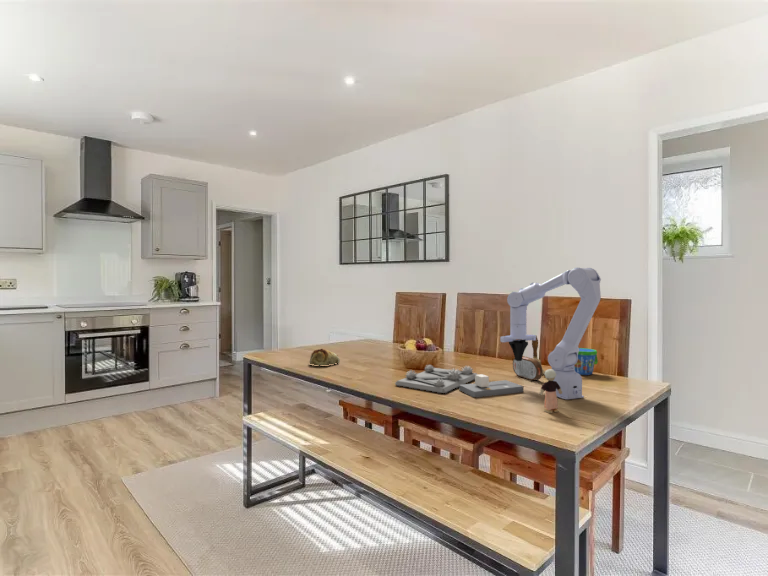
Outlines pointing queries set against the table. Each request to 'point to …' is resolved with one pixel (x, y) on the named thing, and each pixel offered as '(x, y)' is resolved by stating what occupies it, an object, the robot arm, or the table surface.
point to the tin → (528, 368)
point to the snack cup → (586, 361)
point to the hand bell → (535, 346)
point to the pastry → (323, 357)
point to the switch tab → (482, 380)
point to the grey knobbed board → (437, 379)
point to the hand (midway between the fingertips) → (518, 360)
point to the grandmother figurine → (550, 392)
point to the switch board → (491, 388)
